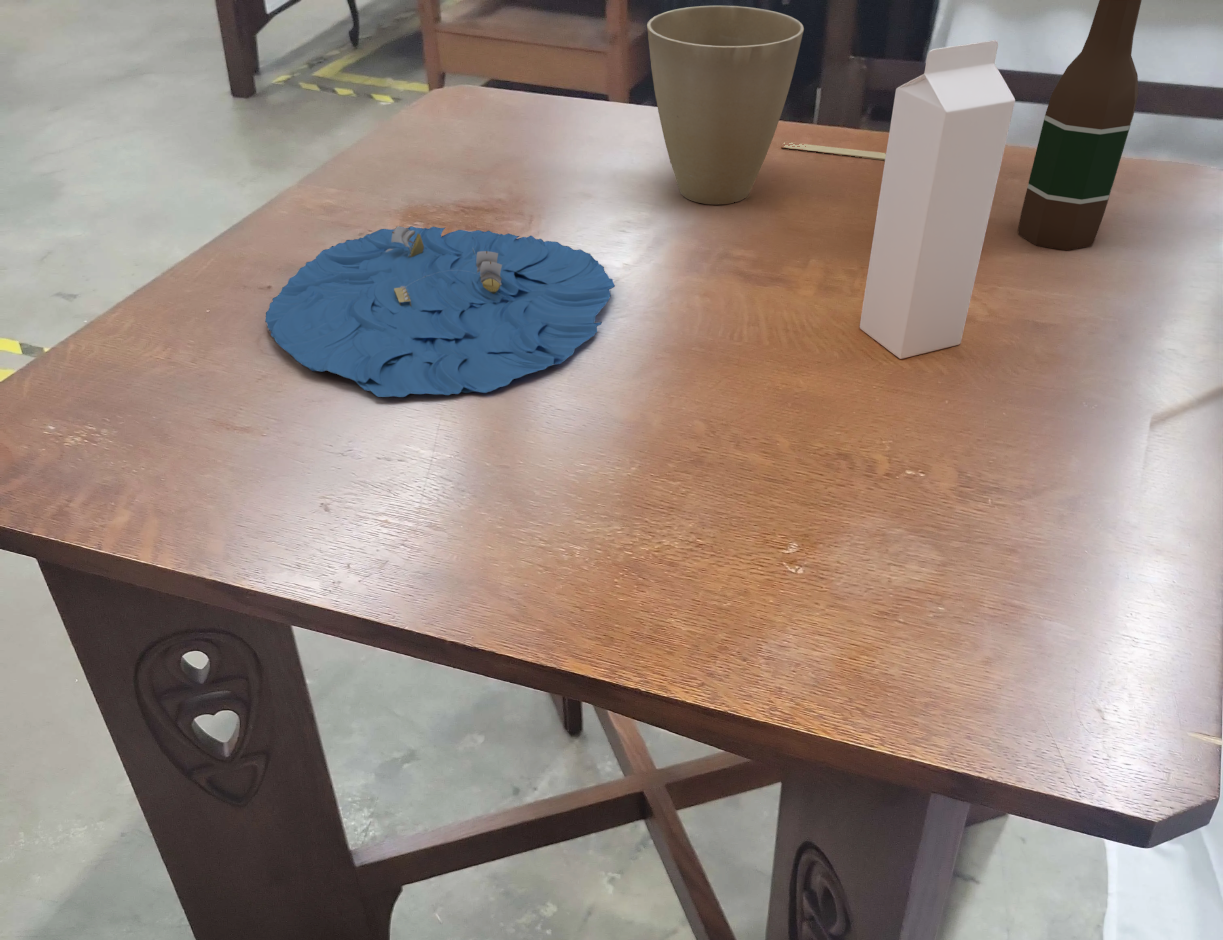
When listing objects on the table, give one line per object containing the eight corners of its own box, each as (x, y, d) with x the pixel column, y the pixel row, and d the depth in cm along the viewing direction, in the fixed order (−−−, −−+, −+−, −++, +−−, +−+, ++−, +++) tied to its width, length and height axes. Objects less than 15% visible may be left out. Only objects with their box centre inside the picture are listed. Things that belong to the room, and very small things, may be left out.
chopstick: (999, 167, 117) (1000, 165, 117) (997, 173, 115) (998, 171, 115) (784, 143, 123) (785, 141, 123) (781, 148, 122) (781, 146, 122)
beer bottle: (998, 234, 104) (1066, -53, 87) (1043, 212, 107) (1115, -66, 91) (1071, 259, 99) (1156, -39, 83) (1114, 235, 103) (1204, -53, 87)
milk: (960, 345, 87) (1030, 50, 72) (899, 360, 86) (957, 61, 71) (916, 314, 91) (973, 29, 77) (856, 328, 90) (903, 39, 75)
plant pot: (684, 230, 105) (690, 53, 95) (622, 179, 115) (621, 15, 105) (814, 204, 110) (834, 33, 99) (744, 158, 120) (755, -2, 109)
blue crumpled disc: (686, 347, 90) (690, 289, 86) (349, 450, 78) (338, 388, 75) (521, 217, 108) (519, 165, 104) (227, 285, 96) (213, 229, 93)
